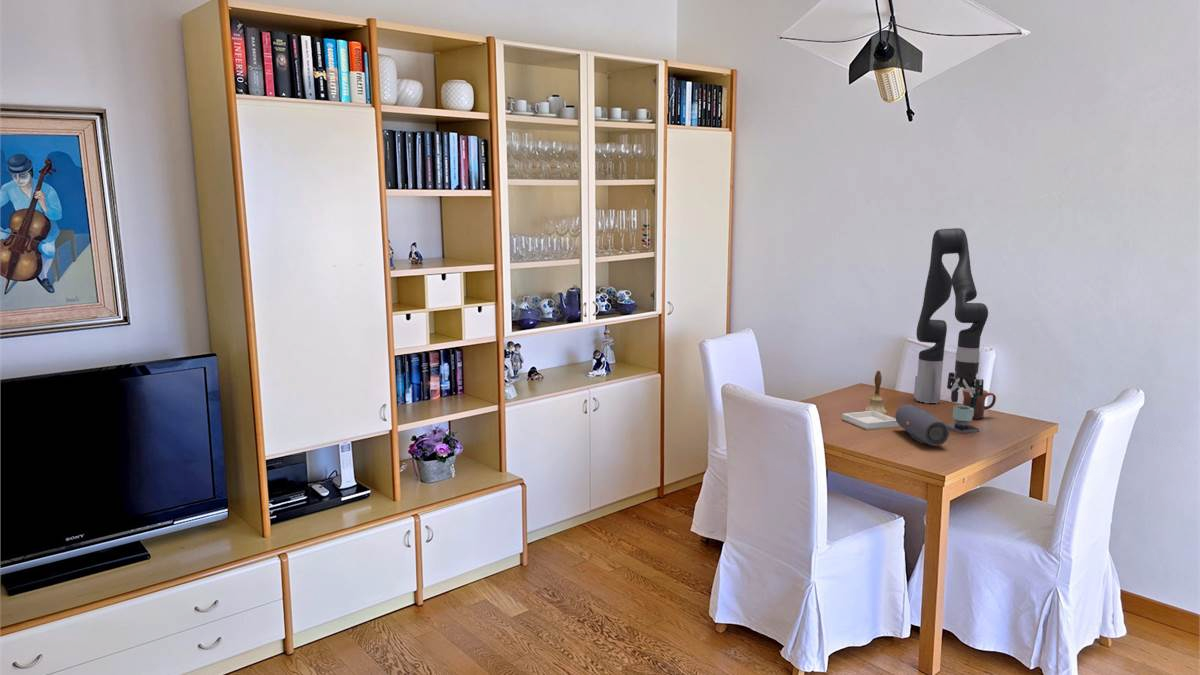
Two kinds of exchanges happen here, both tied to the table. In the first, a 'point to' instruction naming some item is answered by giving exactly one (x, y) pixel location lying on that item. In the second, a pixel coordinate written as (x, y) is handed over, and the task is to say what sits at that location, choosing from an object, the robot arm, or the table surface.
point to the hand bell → (877, 397)
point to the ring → (963, 413)
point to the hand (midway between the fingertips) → (963, 404)
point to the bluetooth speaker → (922, 425)
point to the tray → (870, 420)
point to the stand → (962, 426)
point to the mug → (978, 403)
